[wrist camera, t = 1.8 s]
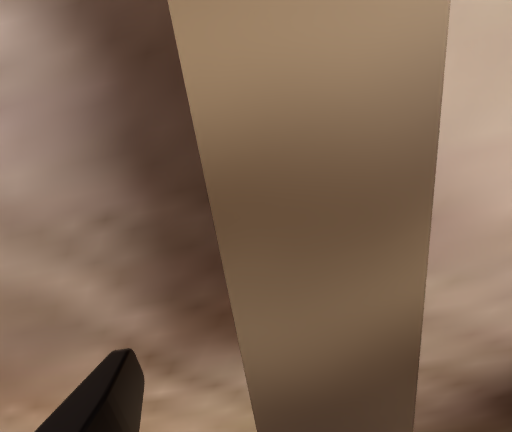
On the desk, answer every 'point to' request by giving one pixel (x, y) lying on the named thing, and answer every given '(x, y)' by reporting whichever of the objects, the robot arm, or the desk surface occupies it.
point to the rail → (320, 195)
